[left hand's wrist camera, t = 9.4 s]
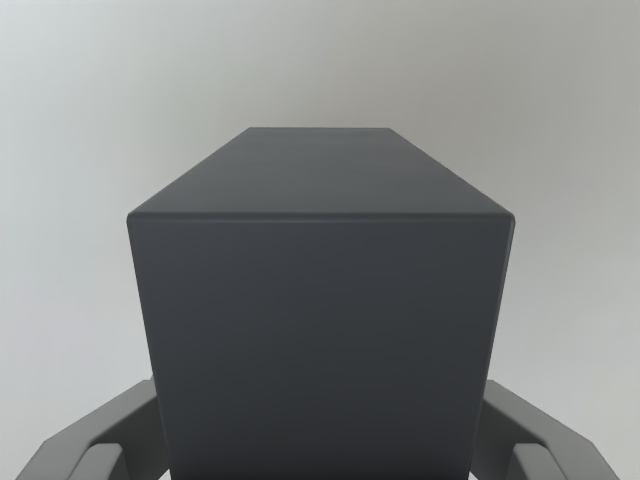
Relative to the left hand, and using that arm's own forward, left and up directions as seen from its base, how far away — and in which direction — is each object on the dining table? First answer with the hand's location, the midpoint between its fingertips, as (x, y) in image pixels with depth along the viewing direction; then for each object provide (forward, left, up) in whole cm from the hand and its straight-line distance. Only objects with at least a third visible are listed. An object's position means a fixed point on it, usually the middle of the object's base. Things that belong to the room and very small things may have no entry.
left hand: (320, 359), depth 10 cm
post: (+20, +4, -3) cm, 21 cm away
